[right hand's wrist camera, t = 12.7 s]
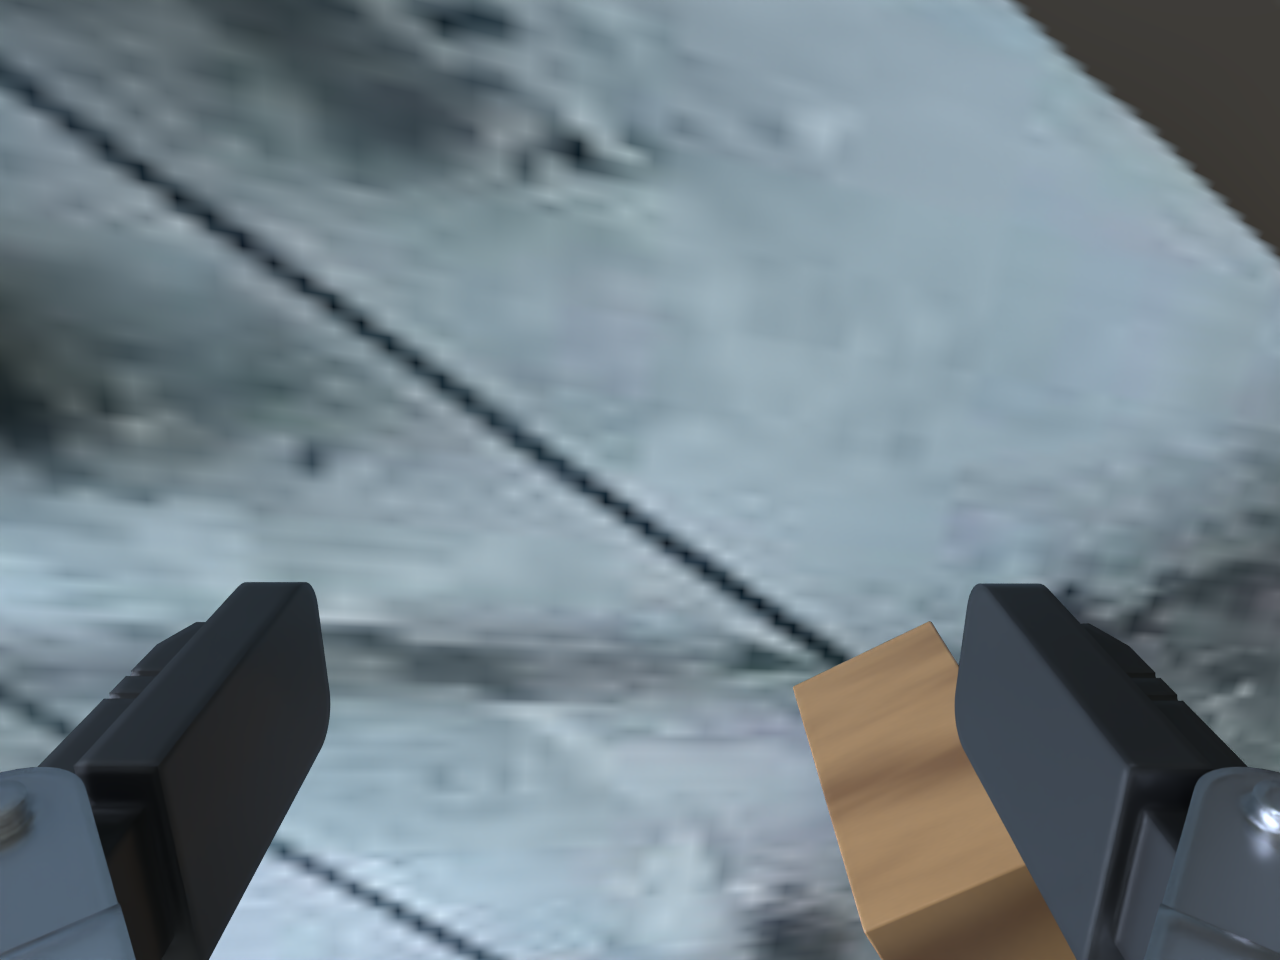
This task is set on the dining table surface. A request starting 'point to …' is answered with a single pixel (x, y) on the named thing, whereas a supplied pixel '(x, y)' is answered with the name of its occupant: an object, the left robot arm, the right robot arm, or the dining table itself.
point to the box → (919, 812)
